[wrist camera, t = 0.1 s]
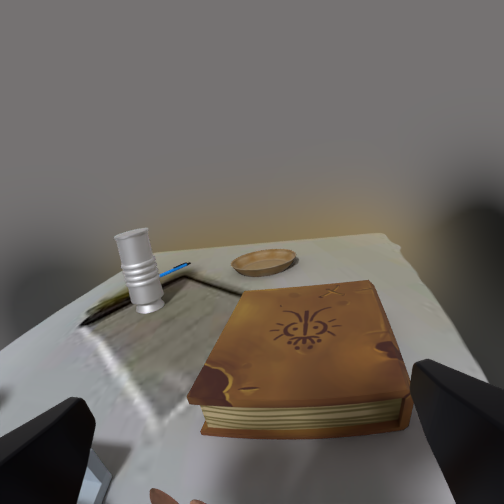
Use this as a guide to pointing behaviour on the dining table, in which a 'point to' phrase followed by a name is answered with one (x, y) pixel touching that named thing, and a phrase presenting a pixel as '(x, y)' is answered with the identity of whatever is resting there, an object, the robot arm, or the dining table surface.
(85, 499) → the notched board
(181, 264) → the pen
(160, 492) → the ammunition clip
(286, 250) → the plant saucer
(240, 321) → the diary
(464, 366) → the dining table surface
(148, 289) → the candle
